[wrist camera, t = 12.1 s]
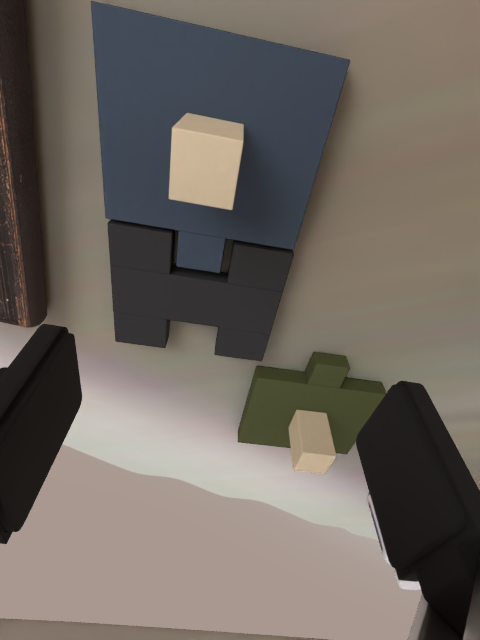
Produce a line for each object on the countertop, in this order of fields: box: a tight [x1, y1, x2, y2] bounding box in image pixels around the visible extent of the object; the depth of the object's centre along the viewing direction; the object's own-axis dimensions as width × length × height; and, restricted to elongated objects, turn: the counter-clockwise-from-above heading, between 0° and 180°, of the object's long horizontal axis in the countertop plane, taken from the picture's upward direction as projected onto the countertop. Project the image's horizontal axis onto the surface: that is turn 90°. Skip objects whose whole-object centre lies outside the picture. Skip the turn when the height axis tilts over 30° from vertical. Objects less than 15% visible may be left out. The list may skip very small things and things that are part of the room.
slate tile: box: [91, 1, 350, 273], centre depth 18 cm, size 12×13×6 cm
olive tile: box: [238, 352, 386, 474], centre depth 31 cm, size 12×13×6 cm
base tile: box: [108, 219, 294, 361], centre depth 25 cm, size 12×10×2 cm
